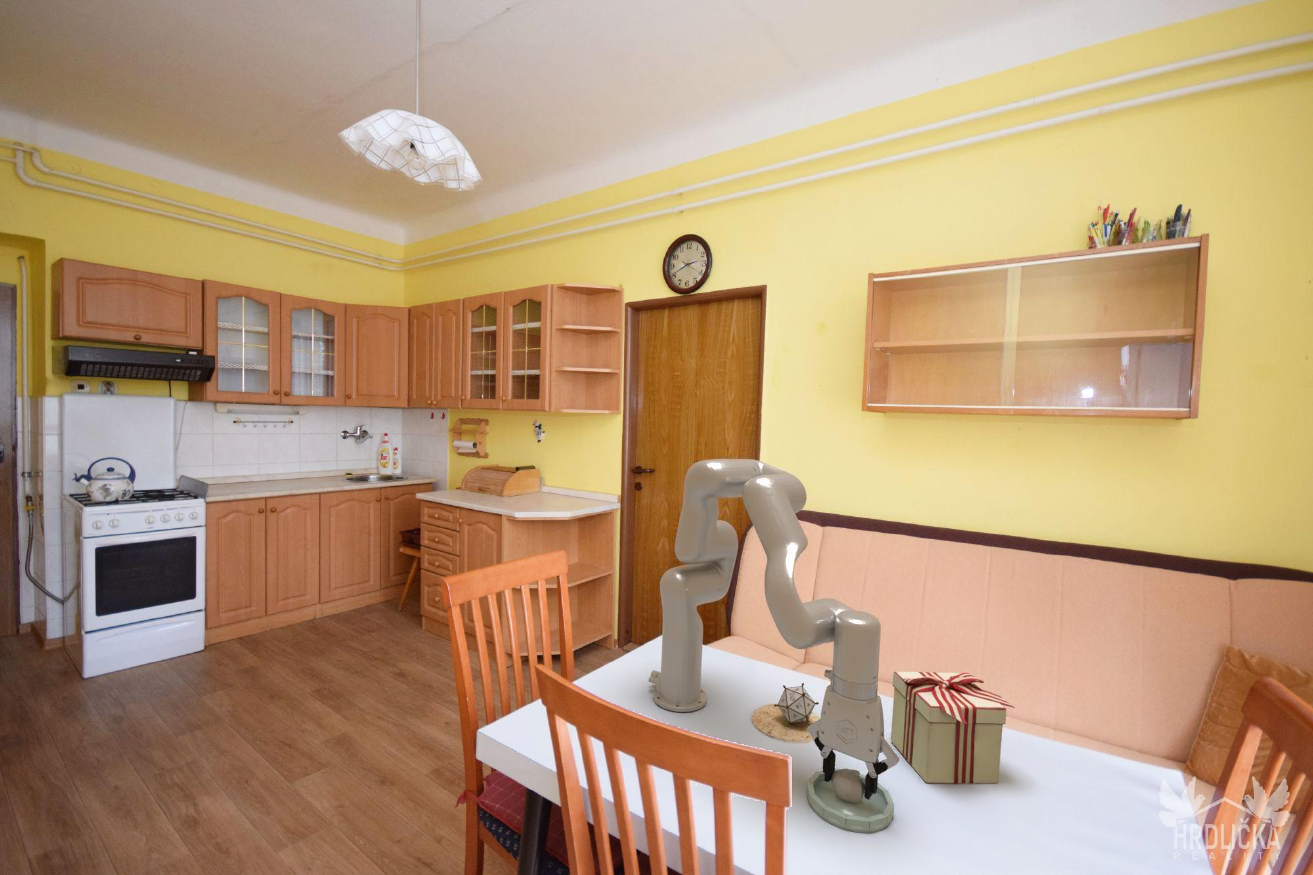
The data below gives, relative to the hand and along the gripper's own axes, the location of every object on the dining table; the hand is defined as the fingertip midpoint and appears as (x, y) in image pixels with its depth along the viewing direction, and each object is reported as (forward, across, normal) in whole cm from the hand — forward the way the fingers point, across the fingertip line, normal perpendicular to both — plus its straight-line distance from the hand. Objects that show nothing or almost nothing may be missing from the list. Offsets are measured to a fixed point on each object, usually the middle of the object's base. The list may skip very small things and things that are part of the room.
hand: (849, 785), depth 100 cm
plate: (+3, 0, 0) cm, 3 cm away
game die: (+4, -19, +20) cm, 28 cm away
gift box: (+4, +11, +25) cm, 28 cm away
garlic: (+2, 0, 0) cm, 2 cm away
